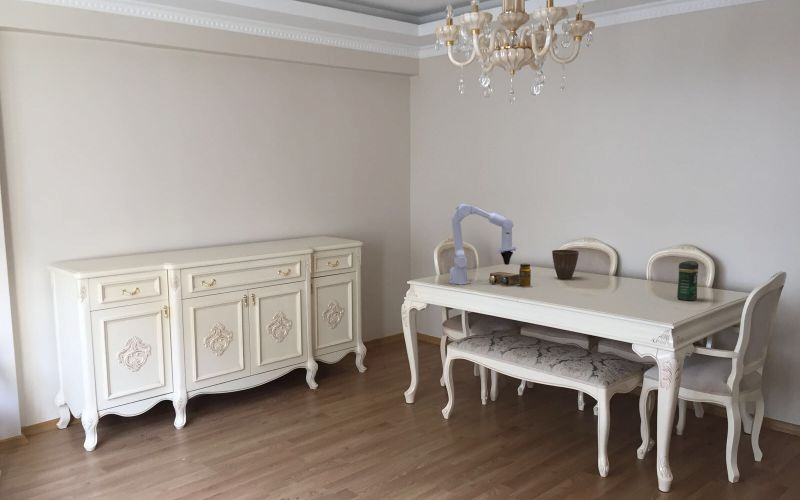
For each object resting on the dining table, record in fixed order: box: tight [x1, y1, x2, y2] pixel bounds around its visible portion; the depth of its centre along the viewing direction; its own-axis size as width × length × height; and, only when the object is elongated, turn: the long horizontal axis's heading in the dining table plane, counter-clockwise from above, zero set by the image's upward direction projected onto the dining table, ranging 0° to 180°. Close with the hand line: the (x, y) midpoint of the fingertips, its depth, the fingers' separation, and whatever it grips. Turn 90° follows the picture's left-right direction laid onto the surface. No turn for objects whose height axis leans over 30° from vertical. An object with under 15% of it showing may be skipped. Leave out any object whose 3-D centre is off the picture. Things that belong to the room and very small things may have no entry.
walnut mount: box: [489, 271, 519, 287], centre depth 368 cm, size 14×8×6 cm, turn 44°
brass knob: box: [488, 275, 496, 284], centre depth 370 cm, size 3×9×3 cm, turn 134°
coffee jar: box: [676, 260, 699, 302], centre depth 318 cm, size 10×8×19 cm
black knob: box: [501, 278, 508, 284], centre depth 364 cm, size 3×9×3 cm, turn 134°
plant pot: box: [551, 249, 580, 281], centre depth 383 cm, size 15×15×16 cm
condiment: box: [512, 263, 533, 289], centre depth 360 cm, size 7×8×12 cm
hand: (506, 264), depth 372 cm, fingers closed
